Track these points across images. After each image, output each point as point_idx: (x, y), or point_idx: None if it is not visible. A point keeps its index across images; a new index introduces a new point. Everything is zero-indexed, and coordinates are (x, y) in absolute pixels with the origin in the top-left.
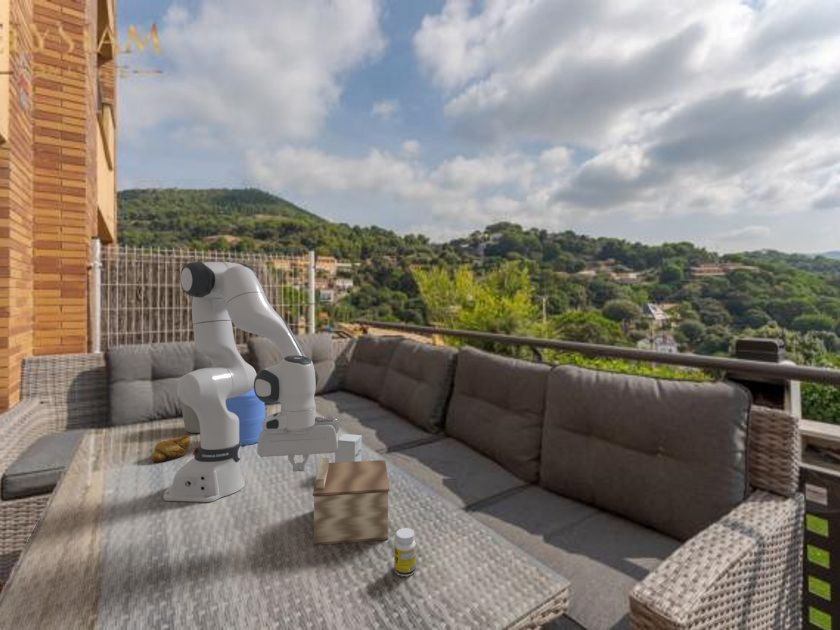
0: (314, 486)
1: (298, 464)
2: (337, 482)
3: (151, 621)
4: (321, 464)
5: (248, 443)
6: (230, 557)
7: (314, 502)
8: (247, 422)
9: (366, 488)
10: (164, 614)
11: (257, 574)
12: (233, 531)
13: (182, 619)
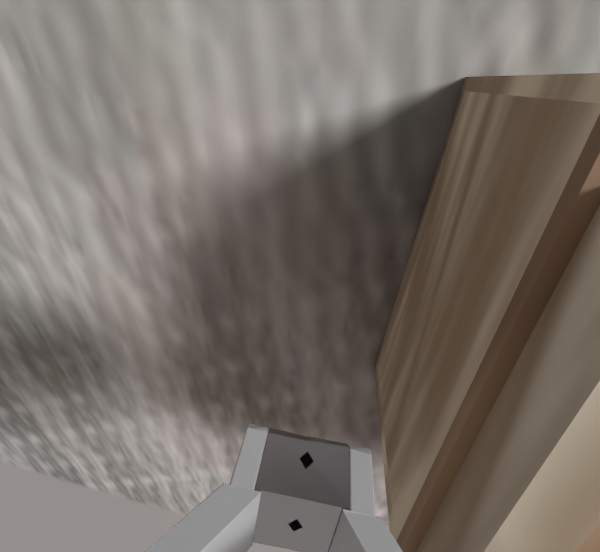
0: (412, 529)
1: (288, 538)
2: (592, 538)
3: (42, 472)
4: (585, 440)
5: None
6: (115, 339)
7: (391, 520)
8: None
9: None
10: (56, 465)
11: (213, 426)
12: (60, 184)
13: (98, 485)
